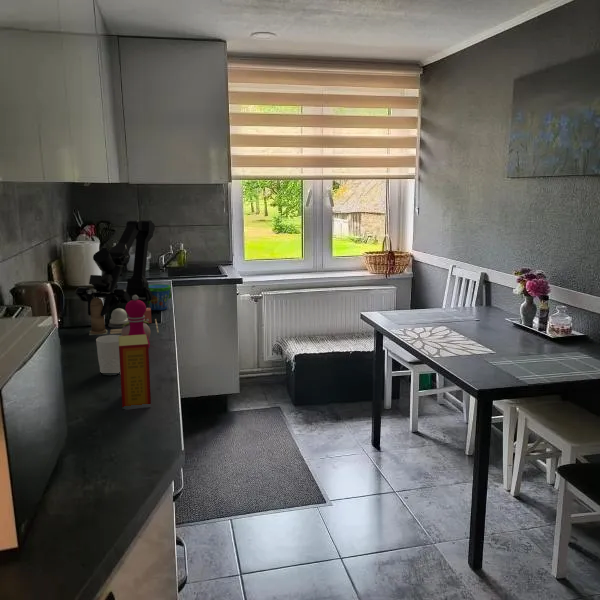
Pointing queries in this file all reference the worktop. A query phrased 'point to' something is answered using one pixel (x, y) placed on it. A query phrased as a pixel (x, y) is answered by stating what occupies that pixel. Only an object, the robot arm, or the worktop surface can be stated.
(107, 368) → the white cup
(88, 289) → the robot arm
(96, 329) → the pawn
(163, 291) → the snack cup
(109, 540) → the worktop surface
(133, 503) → the worktop surface
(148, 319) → the die
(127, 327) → the decorative fruit
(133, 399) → the baking soda box
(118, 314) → the dome
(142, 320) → the pepper mill
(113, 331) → the game board
